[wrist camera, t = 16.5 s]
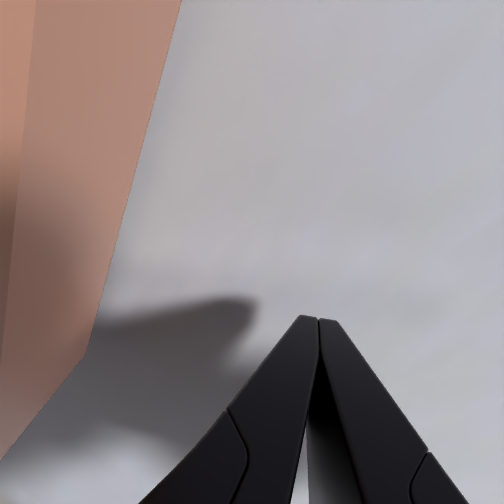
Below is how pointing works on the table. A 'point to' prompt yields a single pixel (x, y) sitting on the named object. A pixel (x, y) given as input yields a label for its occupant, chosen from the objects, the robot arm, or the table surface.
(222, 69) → the table surface
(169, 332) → the table surface
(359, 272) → the table surface
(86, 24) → the tray
